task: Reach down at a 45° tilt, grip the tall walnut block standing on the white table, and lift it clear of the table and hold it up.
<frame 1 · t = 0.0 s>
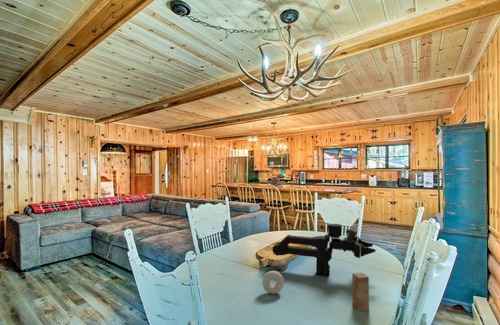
hand: (374, 247, 125), 17 cm above the table, tool horizontal, fingers open, 9 cm apart
walnut block: (360, 307, 101), on the table
donut: (273, 293, 111), on the table
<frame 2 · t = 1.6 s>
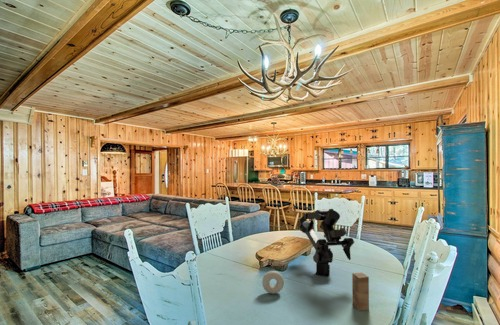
hand: (341, 260, 115), 14 cm above the table, tool tilted 45°, fingers open, 9 cm apart
nothing on the table moved.
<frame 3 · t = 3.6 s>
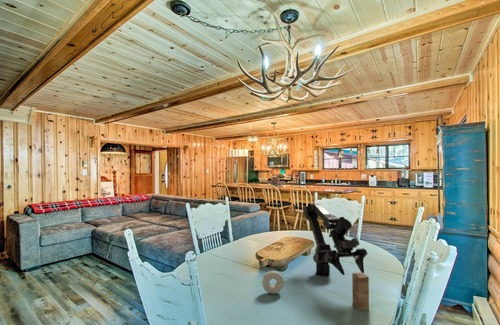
hand: (353, 273, 105), 11 cm above the table, tool tilted 45°, fingers open, 9 cm apart
nothing on the table moved.
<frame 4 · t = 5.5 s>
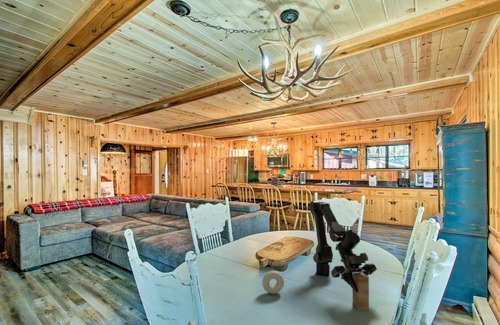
hand: (362, 291, 99), 7 cm above the table, tool tilted 45°, fingers closed on walnut block, 4 cm apart
walnut block: (360, 307, 101), on the table, touching gripper
everything else where it was.
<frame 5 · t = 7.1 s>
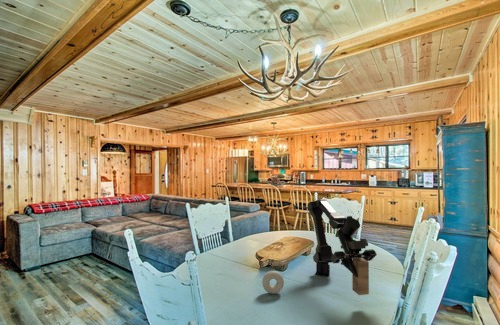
hand: (362, 276, 100), 13 cm above the table, tool tilted 45°, fingers closed on walnut block, 4 cm apart
walnut block: (360, 292, 101), point 6 cm above the table, touching gripper
everything else where it was.
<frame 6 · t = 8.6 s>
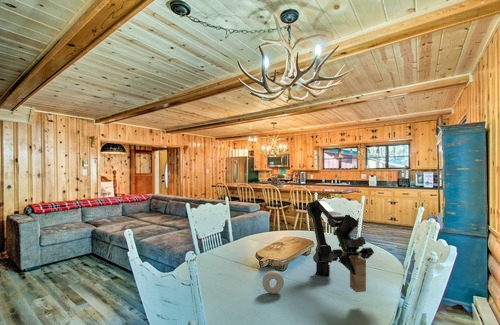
hand: (359, 274, 101), 13 cm above the table, tool tilted 45°, fingers closed on walnut block, 4 cm apart
walnut block: (357, 289, 103), point 6 cm above the table, touching gripper
everything else where it was.
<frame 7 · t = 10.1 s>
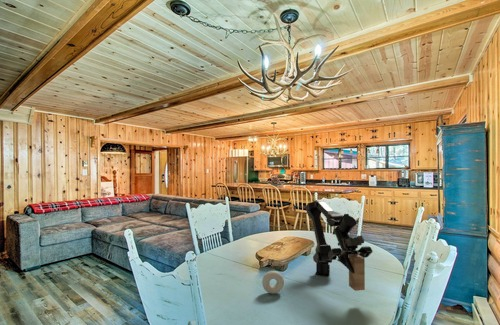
hand: (358, 272, 102), 13 cm above the table, tool tilted 45°, fingers closed on walnut block, 4 cm apart
walnut block: (356, 287, 103), point 7 cm above the table, touching gripper
everything else where it was.
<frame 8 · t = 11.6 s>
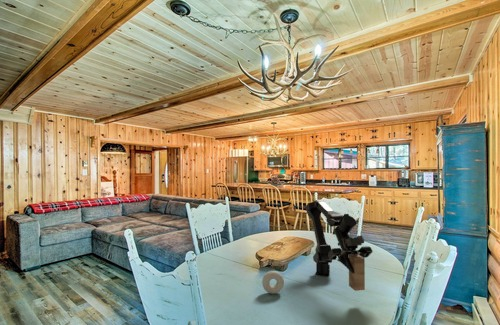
hand: (358, 272, 102), 13 cm above the table, tool tilted 45°, fingers closed on walnut block, 4 cm apart
walnut block: (356, 287, 103), point 7 cm above the table, touching gripper
everything else where it was.
at the end: walnut block point 6.6 cm above the table; the gripper is holding walnut block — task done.
